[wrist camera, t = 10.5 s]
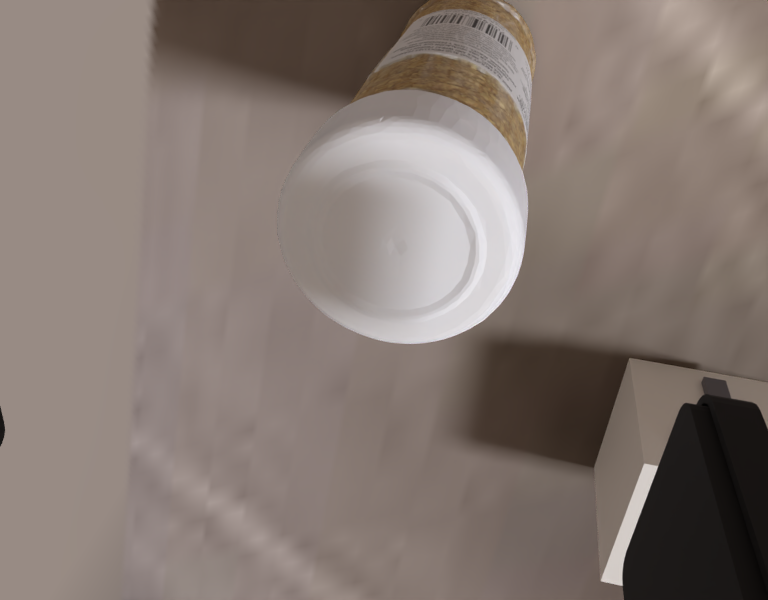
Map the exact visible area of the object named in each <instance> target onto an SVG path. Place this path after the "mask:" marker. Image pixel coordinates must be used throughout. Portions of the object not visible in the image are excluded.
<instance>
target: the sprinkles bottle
mask: <svg viewBox="0 0 768 600" xmlns="http://www.w3.org/2000/svg"><path fill="white" fill-rule="evenodd" d="M535 64H536V54H535V50H534V43H533V38H532V35H531V32H530V30H529V28H528V26H527V24H526V22H525V21H524V19H523V18H522V16H521V15H520V14H519V13H518V12H517V10H516V9H515V8H514V7H513V6H512V5H510V4H509V3H507V2H505V1H504V0H429V1H428V2H427V3H425V4H424V5H422V6H421V7H420V8H419V9H418V10H417V11H416V12H415V13H414V14H413V15H412V17H411V18H410V19H409V21H408V23H407V25H406V27H405V29H404V31H403V32H402V34H401V36H400V39H399V40H398V41H397V42H396V44H395V45H394V46H393V47H392V48H391V49H390V50H389V51H388V52H387V53H386V55H385V56H384V57H383V58H382V60H381V61H380V62H379V63H378V65H377V66H376V67H375V68H374V70H373V71H372V72H371V73H370V75H369V76H368V78H367V80H366V81H365V83H364V84H363V86H362V87H361V89H360V90H359V91H358V92H357V94H356V96H355V98H354V99H353V100H352V101H351V103H350V104H349V105H347V106H346V107H344V108H342V109H340V110H339V111H338V112H336V113H335V114H334V115H333V116H332V117H330V118H329V119H328V120H327V121H326V122H325V123H324V124H323V125H322V126H321V128H320V129H319V130H318V131H317V133H316V134H315V135H314V136H313V138H312V139H311V140H310V142H309V143H308V144H307V146H306V147H305V148H304V150H303V151H302V153H301V154H300V156H299V157H298V159H297V160H296V161H295V163H294V164H293V166H292V168H291V170H290V172H289V174H288V176H287V178H286V180H285V182H284V185H283V188H282V190H281V194H280V199H279V204H278V211H277V235H278V240H279V243H280V248H281V251H282V255H283V258H284V261H285V263H286V266H287V268H288V270H289V272H290V274H291V276H292V277H293V279H294V281H295V282H296V284H297V285H298V287H299V288H300V290H301V291H302V292H303V293H304V294H305V296H306V297H307V298H308V299H309V300H310V301H311V302H312V303H313V304H314V305H315V306H316V307H317V308H318V309H319V310H320V311H321V312H323V313H324V314H325V315H326V316H327V317H329V318H330V319H332V320H334V321H335V322H337V323H338V324H340V325H342V326H343V327H345V328H347V329H350V330H352V331H354V332H356V333H358V334H361V335H364V336H367V337H370V338H373V339H377V340H381V341H385V342H391V343H403V344H418V343H427V342H434V341H438V340H443V339H446V338H449V337H452V336H455V335H458V334H460V333H462V332H464V331H466V330H468V329H470V328H472V327H474V326H475V325H477V324H479V323H480V322H482V321H483V320H485V319H486V318H487V317H488V316H489V314H491V313H492V312H493V311H494V310H495V309H496V308H497V307H498V306H499V305H500V304H501V303H502V301H503V300H504V299H505V298H506V296H507V295H508V293H509V291H510V290H511V288H512V286H513V284H514V282H515V280H516V278H517V276H518V273H519V270H520V266H521V263H522V259H523V254H524V247H525V239H526V229H527V216H528V195H527V187H526V183H525V179H524V175H523V168H524V164H525V158H526V150H527V139H528V126H529V118H530V106H531V90H532V80H533V77H534V72H535Z"/></svg>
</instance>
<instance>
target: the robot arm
mask: <svg viewBox="0 0 768 600" xmlns="http://www.w3.org/2000/svg"><path fill="white" fill-rule="evenodd" d="M4 433H5V426H4V421H3V416H2V412H1V408H0V446H1V444H2V441H3V438H4ZM622 583H623V593H624V600H768V428H767V425H766V423H765V420H764V418H763V416H762V413H761V411H760V409H759V407H758V406H757V404H755V403H753V402H748V401H743V400H737V399H731V398H726V397H720V396H715V395H709V394H705V395H702V397H701V398H700V399H699V400H698V402H697V404H691V403H684V404H683V405H682V406H681V408H680V410H679V412H678V415H677V417H676V420H675V423H674V426H673V428H672V431H671V434H670V436H669V439H668V442H667V444H666V447H665V450H664V452H663V455H662V458H661V460H660V463H659V466H658V468H657V471H656V474H655V476H654V479H653V482H652V484H651V487H650V490H649V492H648V495H647V498H646V500H645V503H644V506H643V508H642V511H641V514H640V516H639V519H638V522H637V524H636V527H635V530H634V532H633V535H632V538H631V540H630V543H629V546H628V548H627V551H626V554H625V558H624V563H623V572H622Z"/></svg>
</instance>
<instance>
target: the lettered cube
mask: <svg viewBox="0 0 768 600" xmlns="http://www.w3.org/2000/svg"><path fill="white" fill-rule="evenodd" d="M705 394H709V395H715V396H720V397H726V398H731V399H737V400H743V401H748V402H753V403H755V404H757V406H758V407H759V409H760V411H761V413H762V416H763V418H764V420H765V423H766V425H767V428H768V382H763V381H757V380H751V379H746V378H740V377H735V376H729V375H723V374H718V373H712V372H706V371H701V370H695V369H690V368H684V367H678V366H673V365H667V364H662V363H656V362H650V361H645V360H639V359H634V358H629V361H628V364H627V367H626V370H625V373H624V376H623V379H622V382H621V385H620V389H619V392H618V395H617V398H616V401H615V404H614V407H613V410H612V413H611V416H610V420H609V423H608V426H607V429H606V432H605V435H604V438H603V441H602V444H601V448H600V451H599V454H598V457H597V460H596V463H595V466H594V477H595V494H596V511H597V529H598V546H599V563H600V580H601V581H602V582H607V583H612V584H616V585H621V586H623V583H622V572H623V563H624V558H625V554H626V551H627V548H628V546H629V543H630V540H631V538H632V535H633V532H634V530H635V527H636V524H637V522H638V519H639V516H640V514H641V511H642V508H643V506H644V503H645V500H646V498H647V495H648V492H649V490H650V487H651V484H652V482H653V479H654V476H655V474H656V471H657V468H658V466H659V463H660V460H661V458H662V455H663V452H664V450H665V447H666V444H667V442H668V439H669V436H670V434H671V431H672V428H673V426H674V423H675V420H676V417H677V415H678V412H679V410H680V408H681V406H682V405H683V404H684V403H691V404H697V402H698V400H699V399H700V398H701V397H702V395H705Z"/></svg>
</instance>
